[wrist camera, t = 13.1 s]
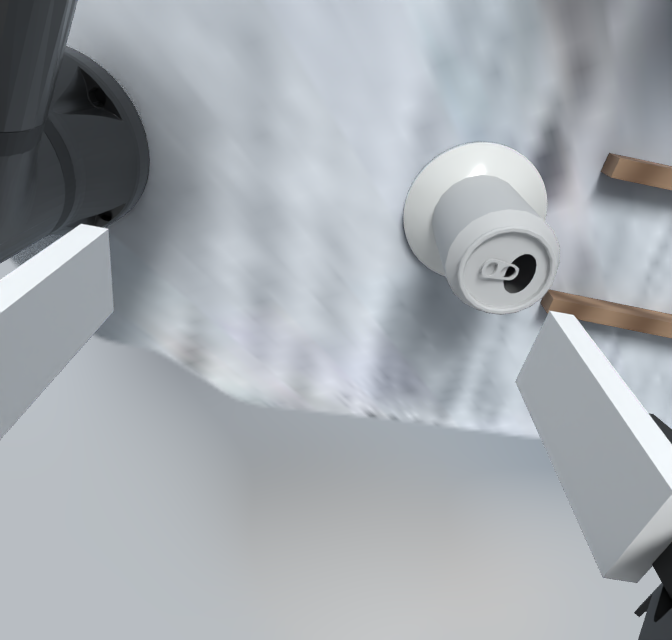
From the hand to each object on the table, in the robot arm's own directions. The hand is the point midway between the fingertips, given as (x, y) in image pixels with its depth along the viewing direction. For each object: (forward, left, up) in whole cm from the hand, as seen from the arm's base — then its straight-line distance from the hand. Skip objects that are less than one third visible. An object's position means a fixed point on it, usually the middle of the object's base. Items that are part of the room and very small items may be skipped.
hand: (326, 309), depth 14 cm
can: (+11, -4, -28) cm, 31 cm away
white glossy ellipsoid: (+11, -4, -29) cm, 31 cm away
